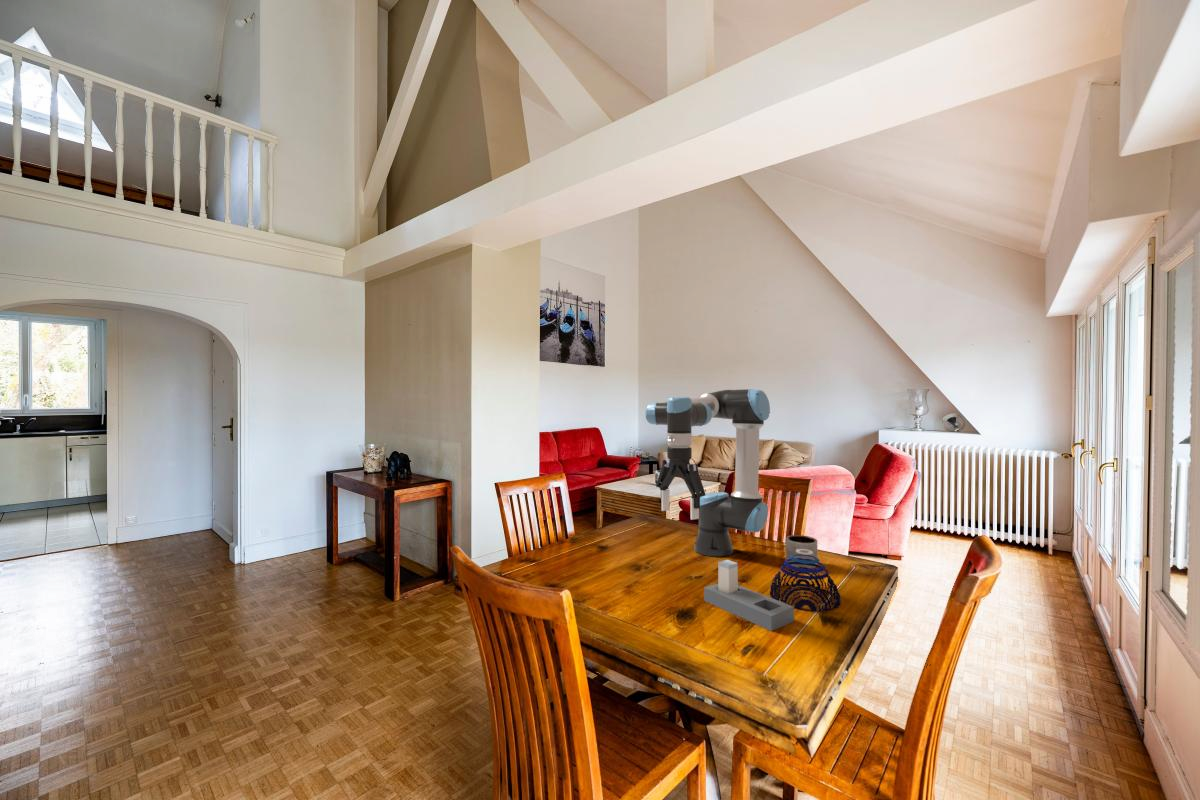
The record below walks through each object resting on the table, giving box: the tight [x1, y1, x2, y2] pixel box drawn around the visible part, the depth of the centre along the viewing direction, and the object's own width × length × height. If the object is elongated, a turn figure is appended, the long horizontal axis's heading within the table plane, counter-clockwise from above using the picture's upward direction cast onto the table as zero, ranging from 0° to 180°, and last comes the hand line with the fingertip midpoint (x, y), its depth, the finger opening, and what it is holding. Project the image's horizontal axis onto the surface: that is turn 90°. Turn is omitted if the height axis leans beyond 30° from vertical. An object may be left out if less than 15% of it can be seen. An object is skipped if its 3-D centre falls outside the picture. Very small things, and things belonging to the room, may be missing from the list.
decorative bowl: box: [769, 549, 842, 613], centre depth 153 cm, size 20×20×14 cm
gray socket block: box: [703, 582, 795, 632], centre depth 144 cm, size 10×24×4 cm, turn 35°
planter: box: [785, 534, 819, 569], centre depth 183 cm, size 11×11×10 cm
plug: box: [717, 559, 739, 594], centre depth 150 cm, size 4×4×12 cm
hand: (679, 514), depth 155 cm, fingers open, 13 cm apart
